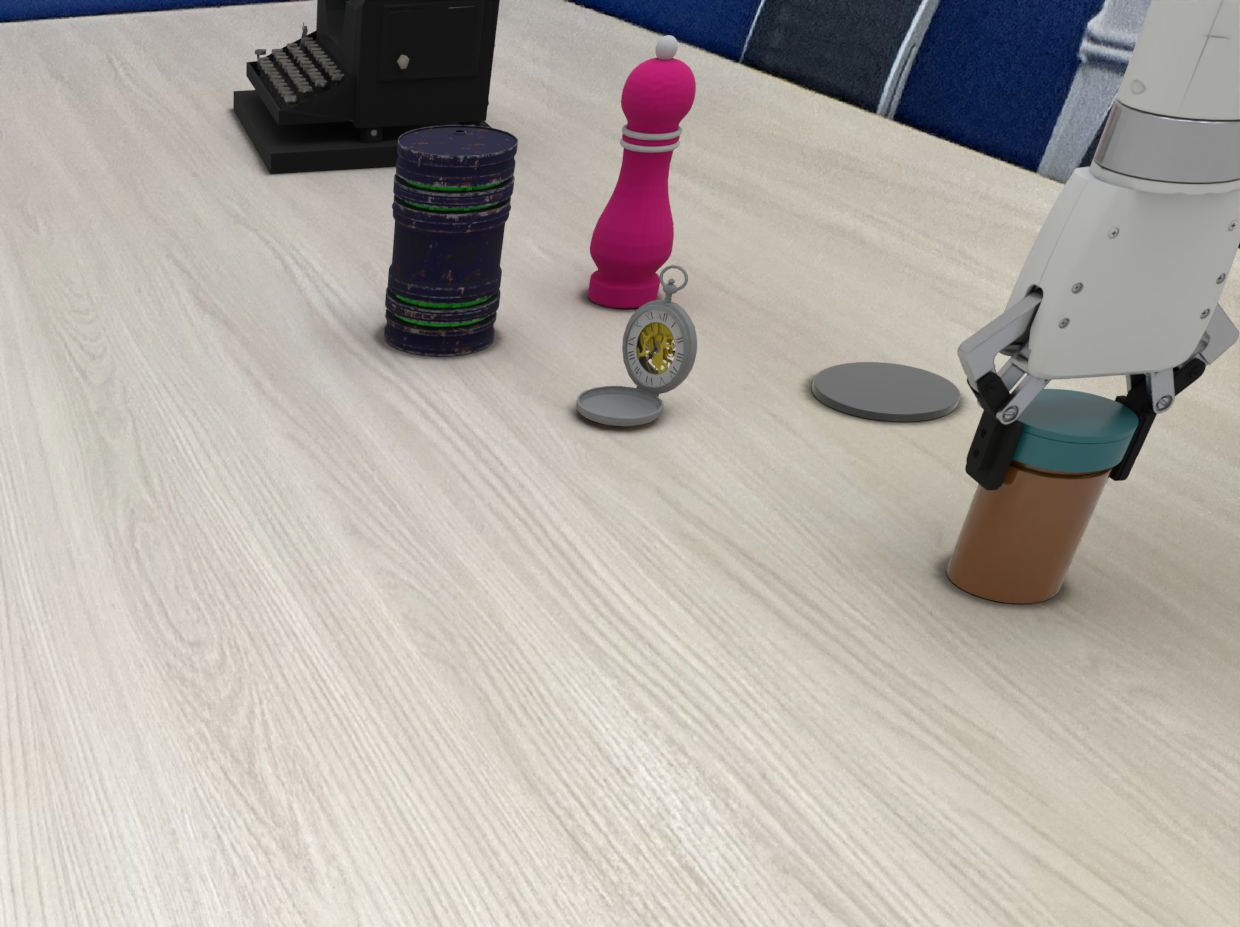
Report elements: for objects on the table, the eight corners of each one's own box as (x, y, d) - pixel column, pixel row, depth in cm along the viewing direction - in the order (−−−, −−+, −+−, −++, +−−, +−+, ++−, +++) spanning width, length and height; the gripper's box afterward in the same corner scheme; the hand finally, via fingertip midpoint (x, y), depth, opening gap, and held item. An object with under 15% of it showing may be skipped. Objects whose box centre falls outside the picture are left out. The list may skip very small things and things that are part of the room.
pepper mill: (630, 316, 129) (680, 48, 115) (565, 298, 133) (605, 36, 119) (678, 297, 132) (732, 34, 118) (613, 279, 136) (658, 22, 122)
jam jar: (1046, 558, 95) (1111, 406, 88) (1070, 607, 90) (1141, 451, 84) (937, 551, 96) (993, 400, 89) (956, 600, 92) (1016, 445, 85)
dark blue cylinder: (492, 359, 123) (517, 158, 112) (377, 354, 124) (390, 155, 113) (497, 319, 129) (521, 125, 119) (388, 314, 131) (402, 123, 120)
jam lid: (967, 426, 90) (980, 391, 88) (1081, 419, 90) (1096, 384, 89) (1027, 476, 85) (1041, 440, 83) (1148, 468, 85) (1164, 432, 83)
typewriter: (233, 109, 186) (233, -141, 169) (438, 97, 188) (460, -152, 170) (270, 173, 165) (275, -106, 147) (502, 159, 166) (534, -119, 148)
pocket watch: (568, 425, 112) (591, 286, 105) (585, 386, 118) (608, 252, 111) (675, 438, 110) (707, 296, 103) (688, 397, 116) (718, 261, 109)
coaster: (944, 372, 118) (947, 364, 118) (969, 425, 110) (972, 417, 110) (804, 366, 120) (806, 358, 119) (819, 418, 112) (822, 410, 112)
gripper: (1288, 118, 79) (1142, 442, 92) (985, 136, 78) (880, 461, 91) (1383, 154, 74) (1215, 492, 86) (1059, 173, 73) (937, 513, 85)
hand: (1044, 474), depth 88 cm, fingers closed on jam lid, 7 cm apart
